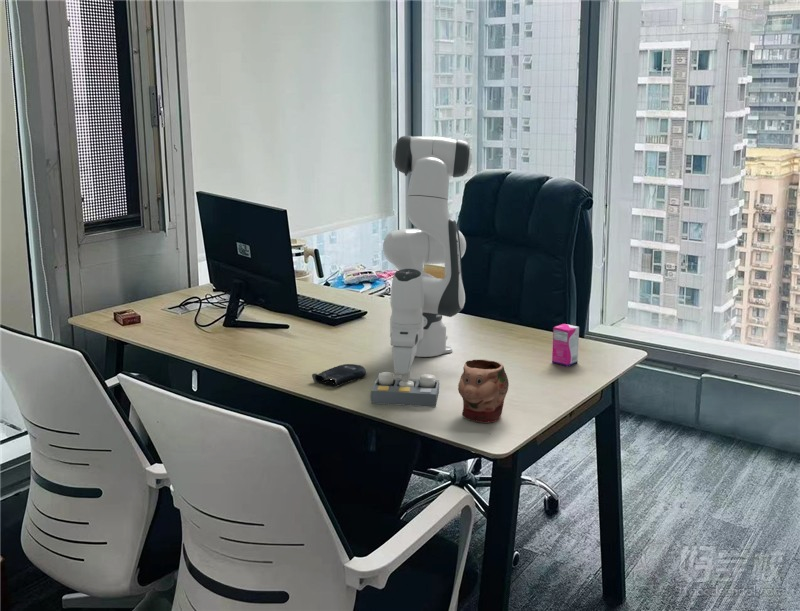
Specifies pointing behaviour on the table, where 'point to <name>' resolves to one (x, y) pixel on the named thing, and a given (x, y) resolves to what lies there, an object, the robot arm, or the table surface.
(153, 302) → the table surface
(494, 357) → the table surface
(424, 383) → the button
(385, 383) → the end button
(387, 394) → the button panel
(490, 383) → the character mug
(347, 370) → the electronic device
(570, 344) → the supplement box
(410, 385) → the middle button
